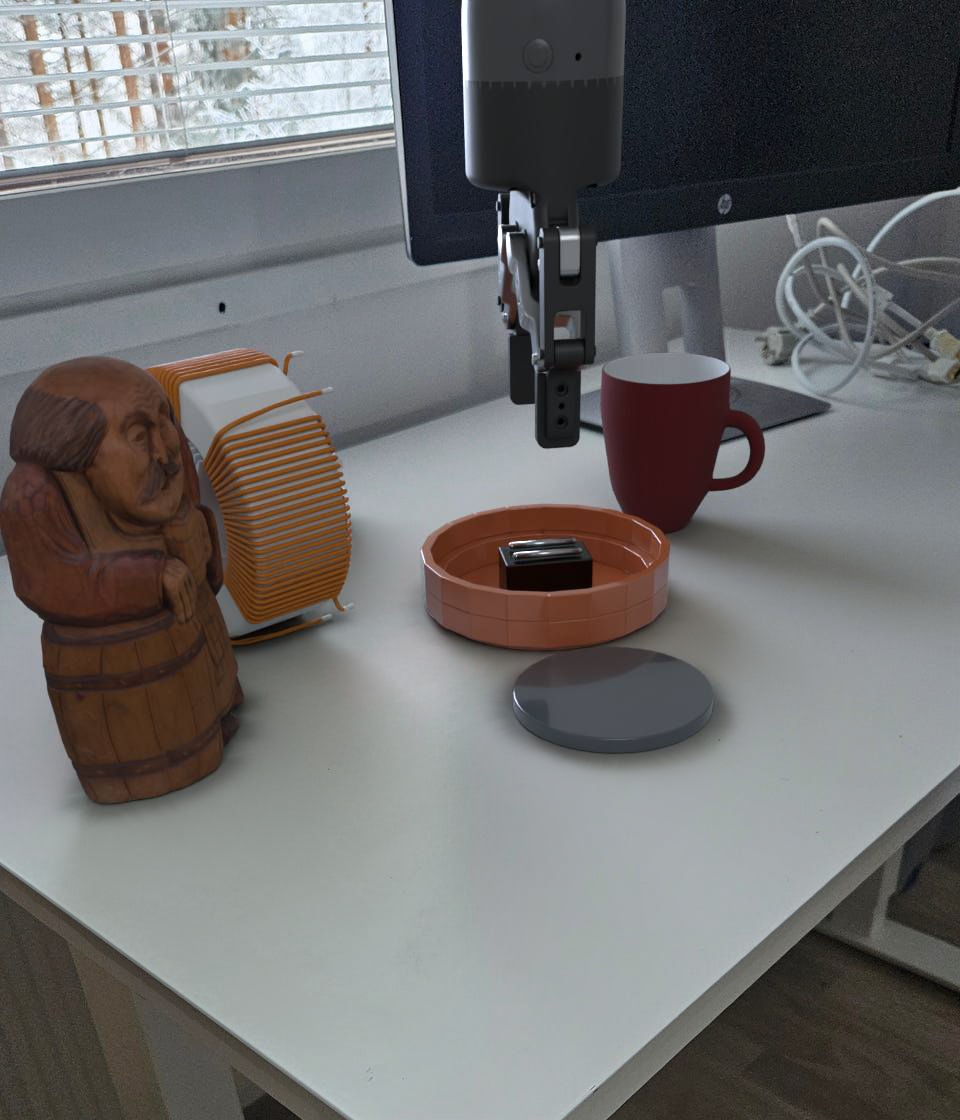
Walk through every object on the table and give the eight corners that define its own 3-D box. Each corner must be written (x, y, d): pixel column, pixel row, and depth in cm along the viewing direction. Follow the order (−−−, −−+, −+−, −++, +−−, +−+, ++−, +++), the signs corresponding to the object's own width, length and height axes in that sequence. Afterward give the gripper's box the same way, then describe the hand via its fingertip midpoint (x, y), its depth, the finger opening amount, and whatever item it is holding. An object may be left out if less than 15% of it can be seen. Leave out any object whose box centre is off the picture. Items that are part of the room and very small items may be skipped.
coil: (274, 683, 65) (233, 393, 57) (140, 601, 75) (88, 343, 66) (379, 643, 69) (355, 365, 60) (238, 570, 78) (201, 321, 70)
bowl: (633, 549, 79) (636, 495, 77) (696, 642, 68) (700, 582, 66) (413, 568, 78) (410, 513, 76) (439, 666, 66) (435, 606, 64)
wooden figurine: (195, 815, 55) (112, 399, 45) (58, 809, 56) (-54, 399, 45) (265, 692, 65) (210, 326, 54) (148, 688, 65) (72, 327, 55)
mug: (754, 504, 85) (768, 352, 80) (759, 547, 79) (776, 384, 73) (601, 501, 87) (604, 352, 81) (594, 543, 80) (597, 384, 74)
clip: (581, 581, 74) (582, 532, 72) (592, 601, 71) (593, 550, 70) (499, 588, 73) (498, 539, 72) (507, 608, 71) (506, 558, 69)
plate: (681, 651, 67) (682, 638, 66) (738, 742, 59) (740, 727, 58) (498, 669, 66) (498, 655, 65) (531, 763, 58) (531, 748, 57)
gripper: (661, 73, 52) (642, 458, 61) (589, 60, 64) (582, 385, 73) (485, 79, 51) (493, 468, 61) (445, 65, 63) (456, 393, 72)
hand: (542, 423), depth 67 cm, fingers open, 8 cm apart
